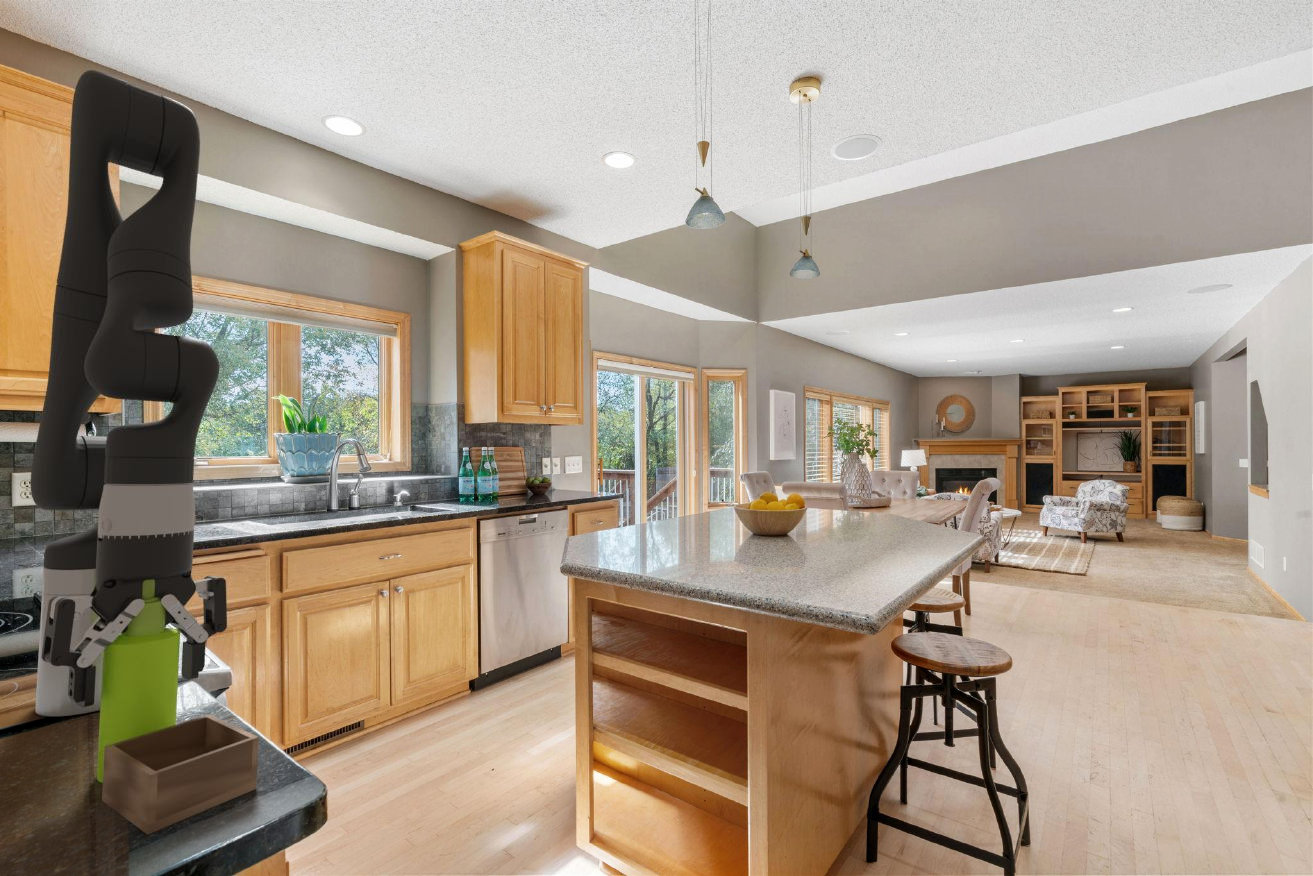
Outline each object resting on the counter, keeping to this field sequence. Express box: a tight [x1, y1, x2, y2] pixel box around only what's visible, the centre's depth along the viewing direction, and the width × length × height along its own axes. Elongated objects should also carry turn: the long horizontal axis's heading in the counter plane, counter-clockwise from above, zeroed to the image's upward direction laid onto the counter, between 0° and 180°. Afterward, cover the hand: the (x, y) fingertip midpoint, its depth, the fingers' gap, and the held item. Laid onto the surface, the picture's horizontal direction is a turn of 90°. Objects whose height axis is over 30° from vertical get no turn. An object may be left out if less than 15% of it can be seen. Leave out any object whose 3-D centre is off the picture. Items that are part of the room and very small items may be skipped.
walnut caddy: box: [101, 714, 260, 835], centre depth 57 cm, size 9×8×5 cm
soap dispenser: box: [96, 579, 181, 784], centre depth 62 cm, size 6×7×20 cm
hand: (140, 690), depth 61 cm, fingers open, 8 cm apart
